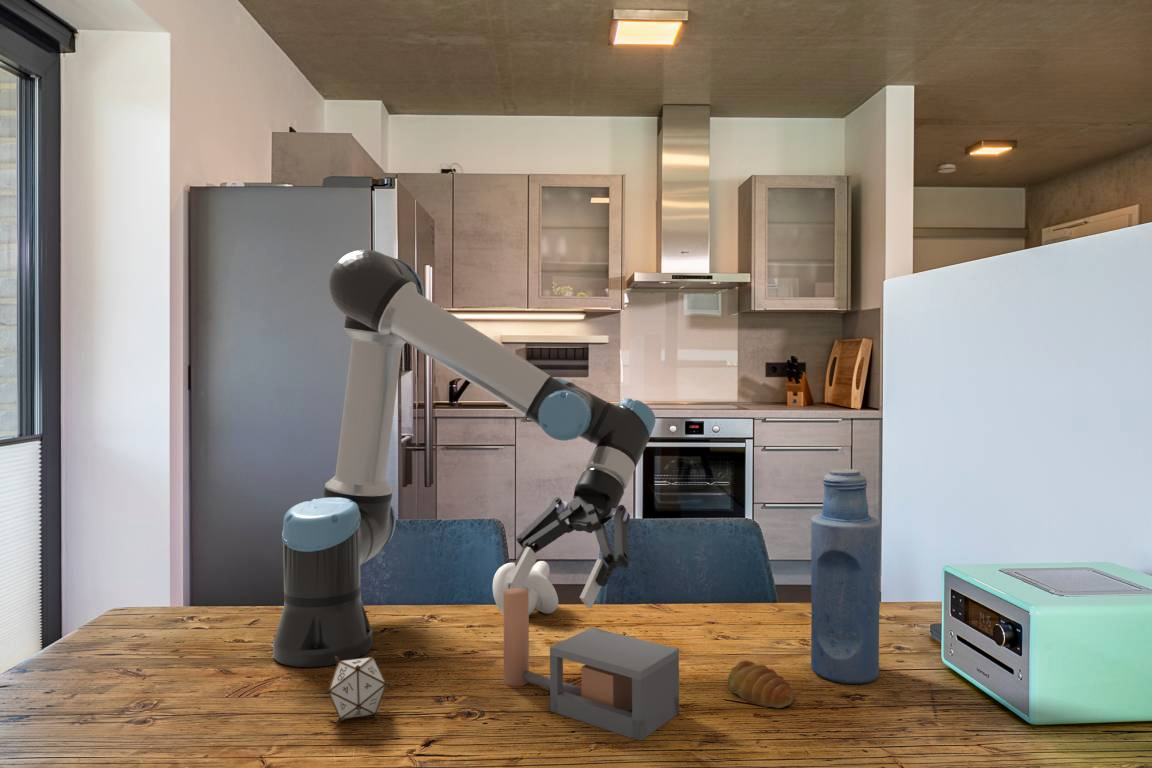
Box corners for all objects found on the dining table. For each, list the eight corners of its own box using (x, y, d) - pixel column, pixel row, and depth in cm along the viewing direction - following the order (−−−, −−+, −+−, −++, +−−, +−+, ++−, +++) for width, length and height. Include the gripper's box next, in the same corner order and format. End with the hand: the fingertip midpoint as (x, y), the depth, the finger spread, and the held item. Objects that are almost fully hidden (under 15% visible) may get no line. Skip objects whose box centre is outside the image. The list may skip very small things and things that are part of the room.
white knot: (503, 601, 152) (502, 555, 151) (565, 603, 150) (564, 556, 150) (488, 620, 140) (488, 570, 140) (555, 623, 139) (554, 572, 139)
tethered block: (495, 683, 113) (494, 593, 113) (518, 672, 117) (517, 585, 117) (613, 722, 101) (612, 621, 100) (634, 708, 105) (634, 611, 104)
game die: (365, 751, 101) (367, 709, 95) (307, 722, 103) (306, 680, 97) (401, 694, 108) (406, 651, 102) (347, 667, 110) (348, 624, 104)
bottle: (885, 668, 118) (887, 468, 117) (871, 691, 110) (872, 476, 109) (821, 655, 123) (822, 463, 122) (802, 676, 115) (803, 471, 114)
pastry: (806, 703, 106) (806, 675, 106) (771, 716, 103) (771, 687, 103) (755, 680, 114) (755, 654, 114) (721, 691, 111) (721, 664, 110)
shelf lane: (550, 710, 104) (549, 647, 104) (591, 687, 112) (591, 627, 111) (640, 741, 96) (640, 671, 95) (678, 713, 103) (678, 648, 103)
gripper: (679, 502, 124) (628, 623, 113) (553, 488, 139) (497, 594, 127) (662, 473, 120) (607, 596, 108) (534, 461, 134) (474, 568, 123)
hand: (548, 595), depth 118 cm, fingers open, 13 cm apart
